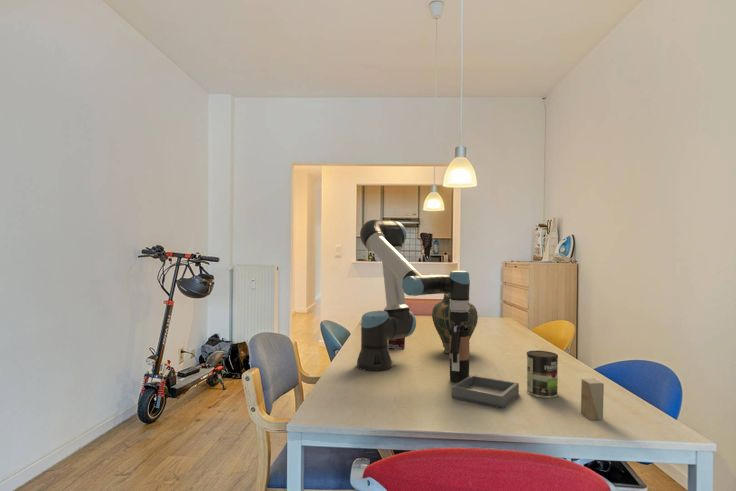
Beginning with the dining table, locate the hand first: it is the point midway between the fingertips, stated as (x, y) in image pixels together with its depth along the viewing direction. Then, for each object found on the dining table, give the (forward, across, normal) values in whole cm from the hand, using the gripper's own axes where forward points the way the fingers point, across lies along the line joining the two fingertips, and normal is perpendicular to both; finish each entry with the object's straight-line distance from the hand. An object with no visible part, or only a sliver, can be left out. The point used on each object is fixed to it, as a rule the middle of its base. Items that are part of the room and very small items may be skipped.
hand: (459, 367), depth 170 cm
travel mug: (+5, 0, 0) cm, 5 cm away
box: (+5, -19, -45) cm, 50 cm away
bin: (+5, -14, -13) cm, 20 cm away
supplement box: (+5, +41, +42) cm, 59 cm away
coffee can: (+5, -2, -30) cm, 31 cm away
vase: (+5, +45, +13) cm, 47 cm away
